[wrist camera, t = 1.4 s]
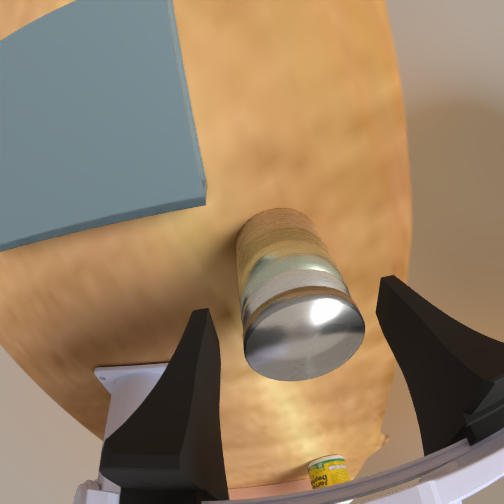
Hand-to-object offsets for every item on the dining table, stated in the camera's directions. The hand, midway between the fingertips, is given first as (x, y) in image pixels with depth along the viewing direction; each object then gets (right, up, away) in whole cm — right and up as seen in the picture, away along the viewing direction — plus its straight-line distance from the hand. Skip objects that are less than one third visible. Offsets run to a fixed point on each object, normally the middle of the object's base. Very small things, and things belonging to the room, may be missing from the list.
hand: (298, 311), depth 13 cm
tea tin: (0, +3, +4) cm, 5 cm away
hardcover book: (-11, +9, 0) cm, 14 cm away
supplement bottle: (+9, -27, +25) cm, 38 cm away
